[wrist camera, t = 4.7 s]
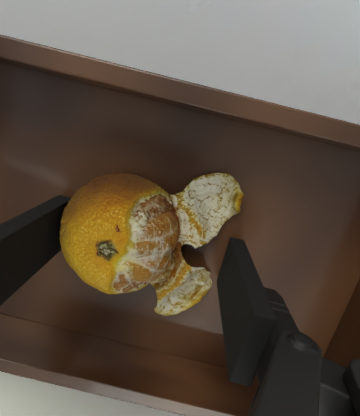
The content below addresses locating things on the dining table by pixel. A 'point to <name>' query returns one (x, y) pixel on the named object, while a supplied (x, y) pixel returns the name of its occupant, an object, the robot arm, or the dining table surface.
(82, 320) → the bin
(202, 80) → the dining table surface
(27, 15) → the dining table surface
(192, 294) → the fruit
